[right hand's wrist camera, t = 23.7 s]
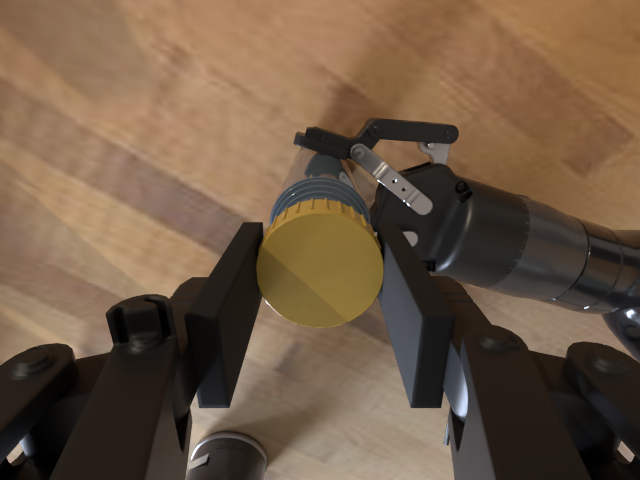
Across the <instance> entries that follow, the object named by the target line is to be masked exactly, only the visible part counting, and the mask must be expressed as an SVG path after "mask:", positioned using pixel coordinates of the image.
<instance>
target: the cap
mask: <svg viewBox="0 0 640 480" xmlns="http://www.w3.org/2000/svg"><path fill="white" fill-rule="evenodd" d="M381 250H382V249H381V246H380V244H379V241H378V239H377V237H376V235H375V233H374V231H373V228H372V226H371V224H368V223H367V221H366V220H365V219H364V216H363V215H362V214H361V215H360V214H359V213H358V212H357V211H355V210H354V209H353V207H352V206H351V207H349V206H347V205H345V204H342V203H341V202H340V201H338V202H336V201H332V200H327V198H325V200H324V199H316V200H313V198H312V199H311V200H308V201H304V202H301V203H300V202H297V204H295V205H293V206H291V207H289V208H285V211H284V212H282V213H281V214H280V215H279V216H276V217H275V219H274V222H273V223H272V224H271V226H268V228H267V231H266V233H265V235H264V238H263V240H262V242H261V245H260V247H259V249H258V252H259V254H258V258H257V263H256V268H257V282H258V286H259V289H260V291H261V293H262V295H263V297H264V299H265V300H266V302H267V303H268V304H269V305H270V306H271V308H272V309H273V310H275V311H276V312H277V313H278V314H279V315H281V316H282V317H284V318H285V319H287V320H289V321H291V322H294V323H296V324H299V325H303V326H307V327H315V328H324V327H333V326H338V325H341V324H344V323H347V322H349V321H351V320H353V319H355V318H356V317H358V316H359V315H361V314H362V313H363V312H365V311H366V310H367V309H368V308H369V307H370V306H371V304H372V303H373V302H374V301H375V299H376V297H377V296H378V294H379V292H380V289H381V287H382V283H383V271H384V262H383V257H382V253H381Z"/></svg>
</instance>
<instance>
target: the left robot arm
mask: <svg viewBox="0 0 640 480" xmlns="http://www.w3.org/2000/svg"><path fill="white" fill-rule="evenodd" d="M458 135H459V131H458V129H457V127H455V126H453V125H448V124H442V123H432V122H419V121H406V120H393V119H380V118H370V119H368V120H367V121H366V123H365V125H364V127H363V128H362V129H361V131H360V132H359V133H358V134H357V135H356V136H354V137H345V136H342V135H339V134H336V133H333V132H330V131H327V130H324V129H321V128H317V127H307V130H306V133H305V134H304V133H301V132H297V133H296V136H295V139H294V144H295V145H298V146H301V147H304V148H307V149H310V150H313V151H316V152H319V153H323V154H326V155H330V156H333V157H335V158H338V159H341V160H345V161H346V158H350V159H353V160H354V161H355V162H356V163H358V164H359V165H360V166H361V167H363V168H364V169H365V170H366V171H368V172H369V173H370V174H371V175H372V176H373V177H375V178H376V179H377V180H378V181H379V184H378V187H377V190H376V196H375V202H374V203H373V205H372V206H371V208H370V209H369V215H370V224H371V226H372V228H373V231H374V233H375V235H376V237H377V224H378V222H397V224H398V225H399V227H400V228H401V230H402V232H403V233H404V235H405V236H406V238H407V239H408V241H409V243H410V244H411V246H412V247H413V249H414V250H415V252H416V253H417V255H418V257H419V258H420V260H421V261H422V263H423V264H424V266H425V268H426V269H427V271H428V272H430V273H433V274H436V275H440V276H448V277H450V278H452V279H453V280H457V281H460V282H464V283H467V284H471V285H474V286H478V287H481V288H485V289H488V290H492V291H495V292H499V293H502V294H506V295H510V296H515V297H521V298H529V299H534V300H538V301H541V302H545V303H548V304H552V305H555V306H559V307H562V308H566V309H569V310H573V311H576V312H581V313H587V314H601V315H602V318H603V319H604V321H605V323H606V325H607V326H608V328H609V329H610V330H611V331H612V333H613V334H614V335H615V336H616V337H617V339H618V340H619V341H620V342H621V343H622V344H623V345H624V347H625V348H626V349H627V350H628V351H629V352H630V353H631V354H632V356H633V357H634V358H635V359H636V360H637V361H638V362H639V363H640V230H612V229H609V228H606V227H603V226H600V225H597V224H594V223H591V222H588V221H585V220H582V219H579V218H575V217H572V216H569V215H567V214H564V213H562V212H560V211H558V210H557V209H555V208H553V207H550V206H548V205H546V204H543V203H540V202H537V201H534V200H531V199H530V198H528V197H526V196H523V195H515V194H512V193H509V192H506V191H503V190H500V189H497V188H494V187H491V186H488V185H485V184H482V183H478V182H475V181H472V180H469V179H466V178H463V177H460V176H457V175H456V174H454V173H453V171H452V170H451V169H450V168H449V167H448V166H447V165H446V163H447V158H448V153H449V148H450V144H451V143H454V142H455V141H456V140H457V138H458ZM379 139H387V140H400V141H413V142H417V148H418V149H419V150H420V151H422V152H424V153H426V154H428V155H429V157H430V162H427V163H424V164H421V165H418V166H415V167H412V168H409V169H406V170H403V171H399V172H397V171H396V170H394V169H393V168H392V167H391V166H390V165H388V164H387V163H386V162H385V161H384V160H382V159H381V158H380V157H379V156H378V155H376V154H375V153H374V152H373V151H372V150H371V149H372V148H373V147H374V146H375V144H376V143H377V142H378V141H379ZM377 297H378V296H377ZM266 466H267V455H266V452H265V450H264V449H263V447H262V446H261V445H260V444H259V443H258V442H257V441H255V440H254V439H252V438H250V437H248V436H246V435H243V434H239V433H234V432H220V433H215V434H211V435H209V436H207V437H205V438H203V439H202V440H201V441H200V442H199V443H198V444H197V445H196V447H195V449H194V452H193V455H192V460H191V463H190V466H189V468H188V471H187V474H186V478H185V480H264V474H265V471H266Z"/></svg>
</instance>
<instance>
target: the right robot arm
mask: <svg viewBox="0 0 640 480" xmlns="http://www.w3.org/2000/svg"><path fill="white" fill-rule="evenodd" d="M263 238H264V237H263V222H243V224H242V226H241V227H240V229H239V230H238V232H237V233H236V235H235V237H234V238H233V240H232V241H231V243H230V244H229V246H228V247H227V249H226V251H225V252H224V254H223V255H222V257H221V258H220V260H219V262H218V263H217V265H216V266H215V268H214V269H213V271H212V273H211V274H210V276H209V277H192V278H191V279H189V280H187V281H186V282H184V283H183V284H181V285H180V286H179V287H178V289H177V290H176V291H175V292H174V294H173V296H171V298H170V299H168V298H167V297H166V296H162V295H158V294H147V295H141V296H136V297H132V298H129V299H126V300H124V301H121V302H119V303H118V304H116V305H114V306H113V307H111V308H110V309H109V310H108V311H107V312H106V318H107V321H108V325H109V329H110V333H111V337H112V340H113V344H114V346H113V348H112V350H111V352H109V353H105V354H100V355H95V356H90V357H85V358H80V359H75V356H74V353H73V350H72V348H71V347H69V346H68V345H66V344H59V343H55V344H45V345H40V346H38V347H33V348H30V349H27V350H26V351H24V352H22V353H19V354H17V355H15V356H14V357H12V358H11V359H9V360H8V361H6V362H5V363H3V364H2V365H1V366H0V480H185V478H186V470H187V461H188V453H189V445H190V437H191V428H192V416H191V410H190V405H191V403H192V401H193V398H194V396H195V394H196V391H197V397H198V403H199V408H229V407H230V404H231V401H232V397H233V394H234V390H235V387H236V384H237V380H238V377H239V374H240V370H241V367H242V363H243V360H244V357H245V353H246V350H247V347H248V343H249V340H250V336H251V333H252V330H253V326H254V323H255V320H256V316H257V313H258V310H259V306H260V303H261V299H262V296H263V295H262V293H261V291H260V289H259V286H258V282H257V268H256V263H257V258H258V254H259V252H258V249H259V247H260V245H261V242H262V240H263ZM377 239H378V241H379V244H380V246H381V249H382V250H381V253H382V257H383V262H384V271H383V283H382V287H381V289H380V292H379V294H378V299H379V302H380V306H381V309H382V312H383V316H384V319H385V322H386V326H387V329H388V333H389V336H390V339H391V343H392V346H393V349H394V353H395V356H396V360H397V363H398V366H399V370H400V373H401V376H402V380H403V383H404V386H405V390H406V393H407V397H408V400H409V403H410V407H411V408H441V404H442V398H443V392H444V391H445V394H446V396H447V398H448V401H449V403H450V410H449V416H448V421H447V427H446V432H445V438H444V445H449V440H450V444H451V452H452V460H453V469H454V477H455V480H640V363H639V362H637V361H636V360H634V359H633V358H631V357H630V356H628V355H627V354H625V353H623V352H621V351H618V350H616V349H614V348H613V347H610V346H607V345H603V344H599V343H592V342H578V343H573V344H572V345H571V346H569V347H568V350H567V353H566V357H565V358H563V357H558V356H553V355H548V354H543V353H538V352H534V351H530V350H529V349H528V347H527V345H526V344H525V343H524V341H523V340H522V339H521V338H520V337H519V336H517V335H516V334H514V333H513V332H512V331H509V330H507V329H505V328H502V327H500V326H496V325H492V324H491V323H490V322H489V321H488V319H487V318H486V317H485V315H484V314H483V313H482V311H481V310H480V309H479V308H478V306H477V305H476V304H475V302H473V300H472V299H471V297H470V296H469V295H467V292H466V291H465V289H464V288H463V287H462V286H461V284H460V283H458V282H456V281H455V280H453V279H452V278H450V277H448V276H431V275H430V274H429V272H428V271H427V269H426V268H425V266H424V264H423V263H422V261H421V260H420V258H419V257H418V255H417V253H416V252H415V250H414V249H413V247H412V246H411V244H410V243H409V241H408V239H407V238H406V236H405V235H404V233H403V232H402V230H401V228H400V227H399V225H398V224H397V222H378V224H377ZM621 440H622V441H623V443H624V444H625V445H626V446H627V447H628V448H629V449H630V450H631V451H632V453H633V454H634V455H635V456H634V458H633V460H632V462H629V461H628V460H627V459H626V458H625V457H623V455H622V454H621V453H620V452H619V451H618V450H617V449H618V447H619V445H620V442H621ZM19 442H20V444H21V446H22V449H23V452H22V453H21V454H20V455H19V457H18V458H17V459H15V460H14V461H13V462H12V463H11V464H10V463H9V462H8V460H7V458H6V457H7V456H8V454H9V453H10V452H11V451H12V450H13V449H14V448H15V447H16V446H17V444H18V443H19Z"/></svg>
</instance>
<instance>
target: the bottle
mask: <svg viewBox="0 0 640 480" xmlns="http://www.w3.org/2000/svg"><path fill="white" fill-rule="evenodd" d="M312 198H313V200H316V199H324V200H325V198H327V200H332V201H336V202H338V201H340V202H341V203H342V204H345V205H347V206H349V207H351V206H352V207H353V209H354V210H355V211H357V212H358V213H359V214H360V215H361V214H362V215H363V216H364V219H365V220H366V221H367V223H368V224H370V215H369V211H368V208H367V206H366V204H365V201H364V199H363V197H362V195H361V192H360V190H359V188H358V186H357V184H356V181H355V179H354V177H353V175H352V172H351V170H350V168H349V166H348V163H347V161H345V160H341V159H338V158H335V157H333V156H330V155H326V154H323V153H319V152H316V151H313V150H310V149H307V148H303V149H302V150H300V152H299V153H298V154H297V156H296V157H295V159H294V162H293V164H292V166H291V168H290V171H289V173H288V175H287V177H286V179H285V182H284V184H283V186H282V188H281V191H280V193H279V195H278V197H277V199H276V202H275V204H274V206H273V209H272V212H271V216H270V226H271V224H272V223H273V222H274V219H275V217H276V216H279V215H280V214H281V213H282V212H284V211H285V208H289V207H291V206H293V205H295V204H297V202H300V203H301V202H304V201H308V200H311V199H312Z"/></svg>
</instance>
